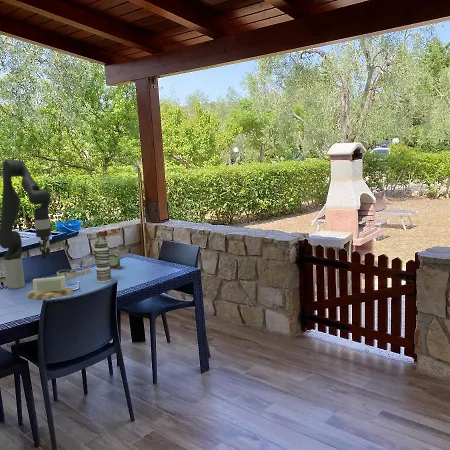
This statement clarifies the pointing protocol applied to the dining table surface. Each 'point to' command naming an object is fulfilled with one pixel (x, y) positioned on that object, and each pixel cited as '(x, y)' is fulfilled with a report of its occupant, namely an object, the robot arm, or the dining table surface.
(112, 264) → the food container
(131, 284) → the dining table surface
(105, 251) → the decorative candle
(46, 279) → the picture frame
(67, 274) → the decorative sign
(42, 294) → the tan bumpy slab
